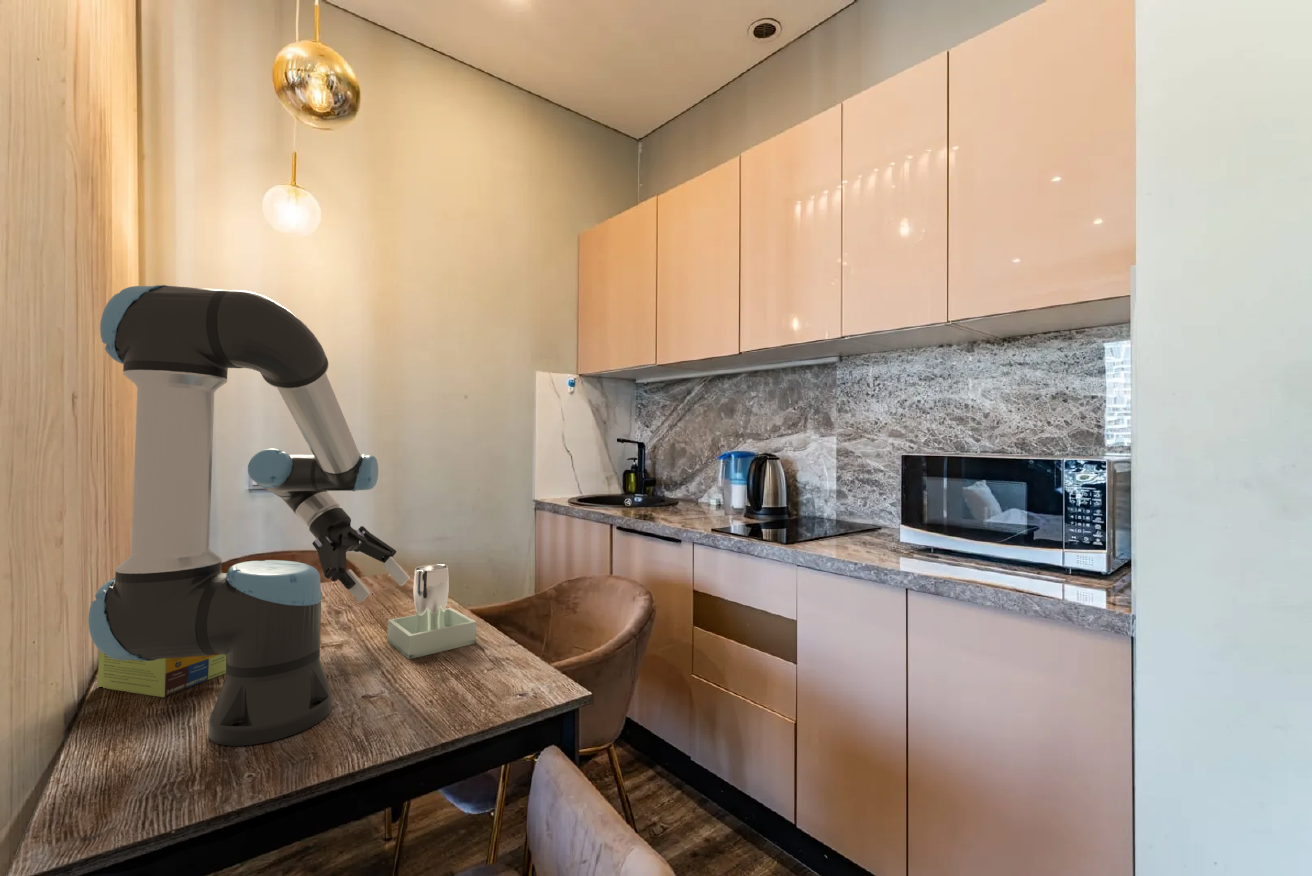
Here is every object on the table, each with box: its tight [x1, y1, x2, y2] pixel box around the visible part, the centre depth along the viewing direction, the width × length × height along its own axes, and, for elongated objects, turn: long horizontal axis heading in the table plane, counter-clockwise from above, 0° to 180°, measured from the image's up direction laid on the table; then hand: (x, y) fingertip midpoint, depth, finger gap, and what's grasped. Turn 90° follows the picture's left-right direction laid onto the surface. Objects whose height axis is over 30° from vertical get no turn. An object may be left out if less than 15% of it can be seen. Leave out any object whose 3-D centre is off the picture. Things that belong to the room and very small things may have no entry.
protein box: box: [97, 649, 226, 698], centre depth 96 cm, size 10×15×16 cm
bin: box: [386, 607, 477, 660], centre depth 116 cm, size 14×14×4 cm
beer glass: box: [412, 563, 450, 633], centre depth 116 cm, size 7×7×15 cm
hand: (386, 589), depth 117 cm, fingers open, 13 cm apart
